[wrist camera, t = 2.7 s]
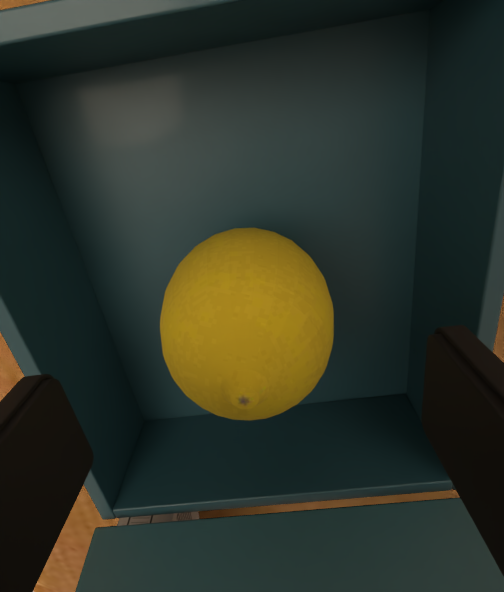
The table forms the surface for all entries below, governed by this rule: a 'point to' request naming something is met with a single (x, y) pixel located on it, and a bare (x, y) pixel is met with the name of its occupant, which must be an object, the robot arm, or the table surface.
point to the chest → (249, 223)
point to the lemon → (247, 324)
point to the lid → (299, 552)
